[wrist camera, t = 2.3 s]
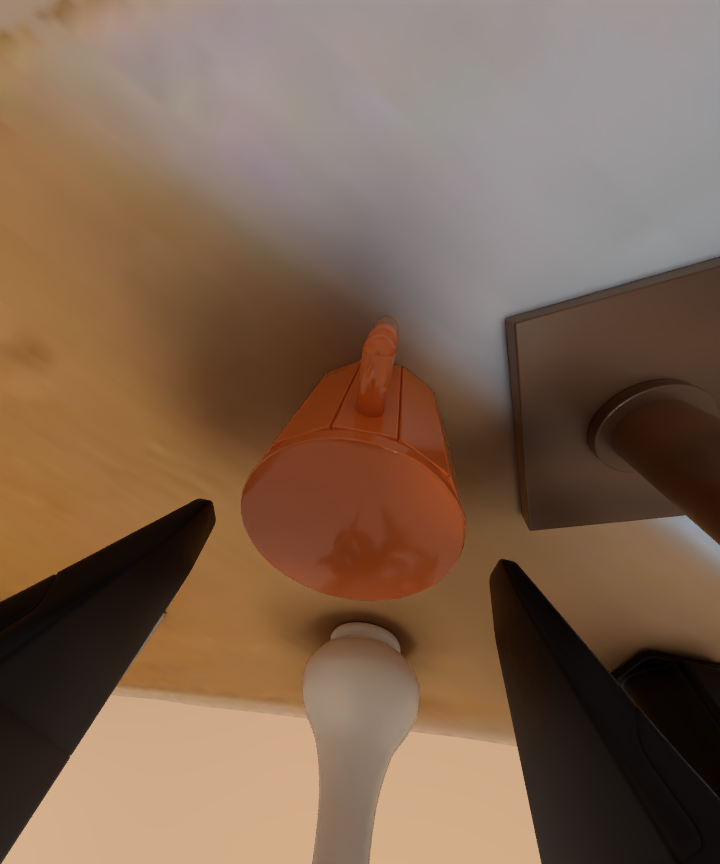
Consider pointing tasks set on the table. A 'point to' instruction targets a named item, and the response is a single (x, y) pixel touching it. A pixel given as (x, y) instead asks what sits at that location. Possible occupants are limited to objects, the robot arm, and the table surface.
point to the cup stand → (621, 403)
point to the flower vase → (355, 732)
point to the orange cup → (360, 484)
